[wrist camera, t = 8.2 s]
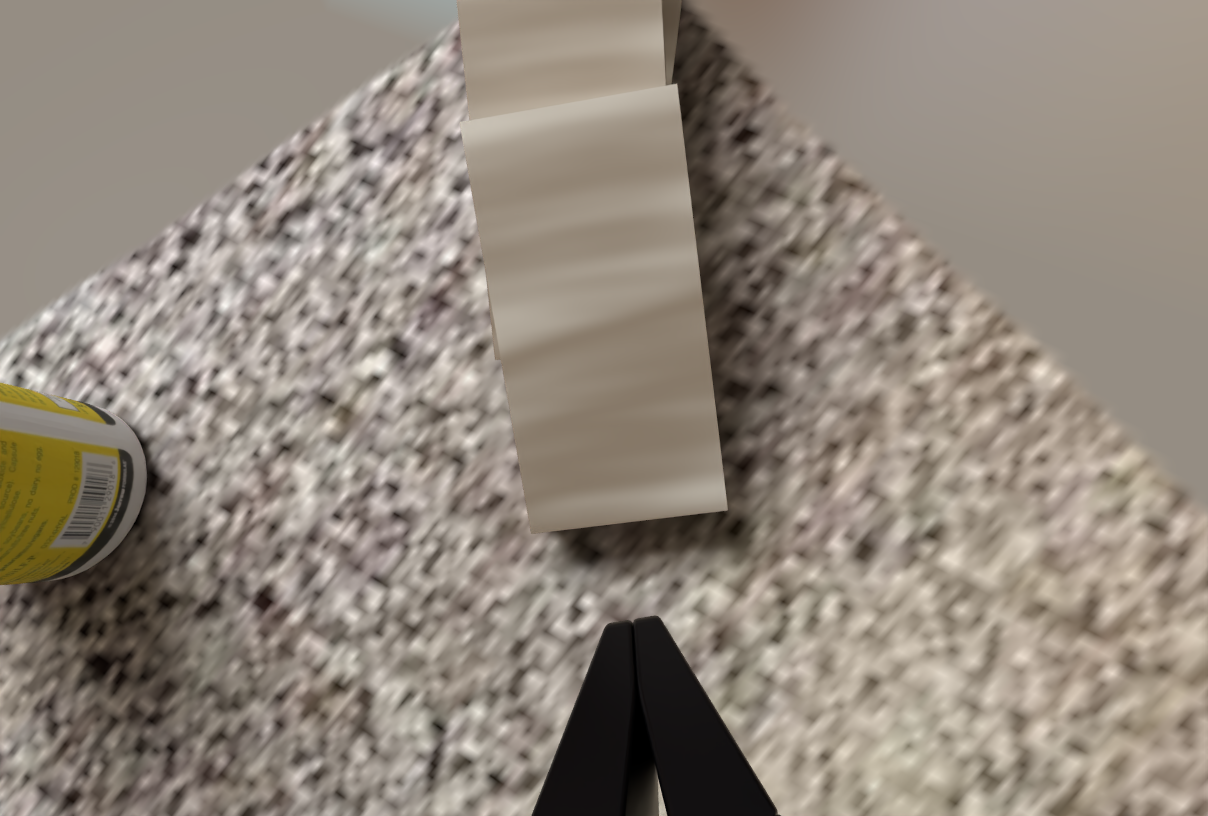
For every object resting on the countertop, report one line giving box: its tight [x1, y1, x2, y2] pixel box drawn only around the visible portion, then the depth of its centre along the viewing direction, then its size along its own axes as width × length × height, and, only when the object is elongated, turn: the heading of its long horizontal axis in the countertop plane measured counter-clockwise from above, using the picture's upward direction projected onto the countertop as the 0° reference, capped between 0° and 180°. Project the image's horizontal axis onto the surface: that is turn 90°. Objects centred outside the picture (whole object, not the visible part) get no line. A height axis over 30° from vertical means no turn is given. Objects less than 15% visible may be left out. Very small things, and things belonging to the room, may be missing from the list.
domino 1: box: [460, 84, 728, 534], centre depth 15 cm, size 2×5×10 cm
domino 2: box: [457, 0, 666, 360], centre depth 16 cm, size 2×5×10 cm
